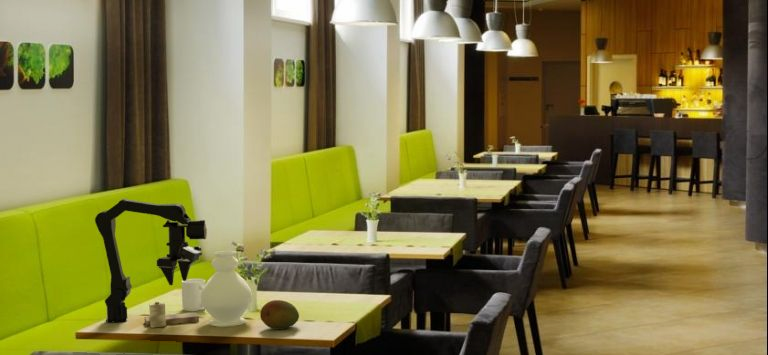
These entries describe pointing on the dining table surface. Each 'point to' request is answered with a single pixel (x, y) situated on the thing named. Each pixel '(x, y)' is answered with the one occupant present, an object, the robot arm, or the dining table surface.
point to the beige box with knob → (157, 315)
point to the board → (177, 318)
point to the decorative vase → (226, 292)
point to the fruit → (279, 314)
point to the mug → (192, 294)
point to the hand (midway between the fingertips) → (177, 282)
